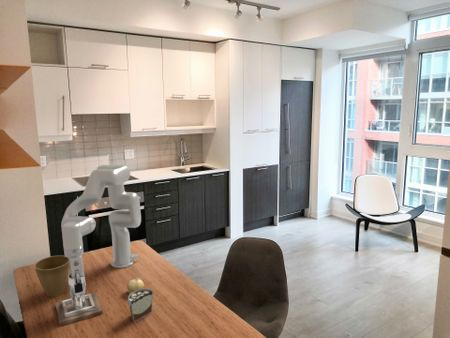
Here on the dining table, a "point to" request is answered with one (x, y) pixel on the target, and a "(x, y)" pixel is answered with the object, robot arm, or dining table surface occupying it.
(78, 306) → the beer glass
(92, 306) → the holder board
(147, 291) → the food container
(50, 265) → the plant pot
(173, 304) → the dining table surface
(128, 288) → the onion
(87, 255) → the dining table surface
